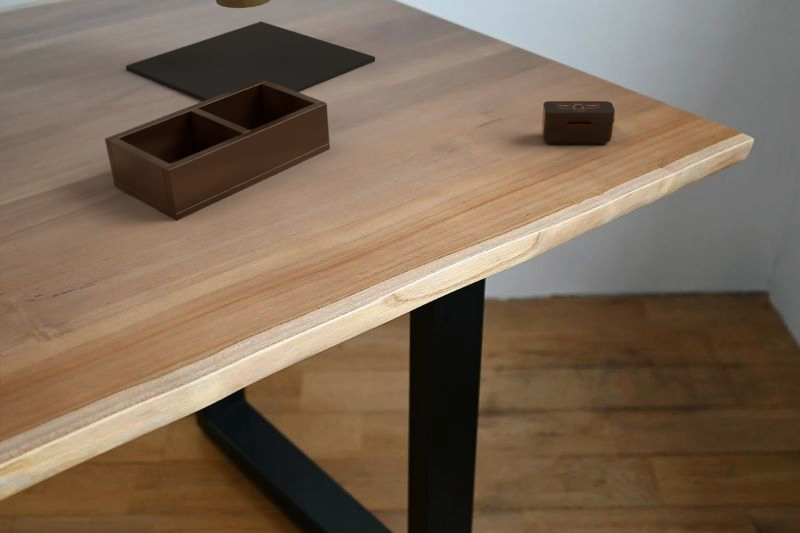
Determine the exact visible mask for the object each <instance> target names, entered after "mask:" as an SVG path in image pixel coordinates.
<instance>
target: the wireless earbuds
mask: <svg viewBox="0 0 800 533" xmlns="http://www.w3.org/2000/svg"><path fill="white" fill-rule="evenodd" d="M615 113H616V110H615V107H614V105H613V103H612V102H611V101H607V100H549V101H548V100H547V101H545V102H543V106H542V119H541V134H542V139H543V141H544V142H545V143H546V144H608V143H610V142H611V140H612V138H613V131H614V130H613V129H614V123H615V115H616V114H615Z"/></svg>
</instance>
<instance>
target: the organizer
mask: <svg viewBox="0 0 800 533" xmlns="http://www.w3.org/2000/svg"><path fill="white" fill-rule="evenodd" d="M328 116H329V115H328V103H327V102H325V101H322V100H320V99H318V98H315V97H312V96H309V95H306V94H304V93H301V92H296V91H293V90H290V89H287V88H285V87H282V86H279V85H277V84H274V83H271V82H268V81H265V80H262V79H261V80H258V81H256V82H253V83H250V84H248V85H245V86H242V87H240V88H237V89H234V90H232V91H229V92H227V93H224V94H221V95H219V96H216V97H213V98H211V99H208V100H205V101H201V102H198V103H195V104H192V105H190V106H187V107H184V108H182V109H179V110H176V111H174V112H171V113H169V114H166V115H163V116H160V117H158V118H155V119H153V120H150V121H148V122H145V123H142V124H139V125H137V126H134V127H132V128H129V129H127V130H124V131H122V132H121V131H120V132H119V133H116V134H113V135H111V136H108V137H106V138H104V144H105V146H106V151H107V156H108V160H109V166H110V170H111V175H112V179H113V185H114V187H115V188H117V189H119V190H121V191H123V192H124V193H126V194H127V195H130V196H132V197H133V198H136V199H137V200H139V201H141V202H142V203H145V204H146V205H148V206H150V207H152V208H154V209H156V211H157V210H158V211H160V213H163V214H164V215H167V216H169V217H170V218H172V219H174V220H176V221H178V220H181V219H183V218H186V217H187V216H189V215H191V214H193V213H195V212H198V211H200V210H202V209H205V208H206V207H209V206H211V205H213V204H215V203H217V202H220V201H221V200H223V199H226V198H227V197H230V196H232V195H234V194H236V193H238V192H240V191H242V190H245V189H247V188H249V187H251V186H254V185H255V184H257V183H260V182H262V181H264V180H266V179H268V178H271V177H273V176H274V175H276V174H278V173H281V172H283V171H285V170H287V169H290V168H292V167H294V166H296V165H298V164H300V163H303V162H304V161H307V160H309V159H311V158H313V157H314V156H317V155H320V154H321V153H324V152H325V151H328V150H330V149H331V143H330V130H329V117H328Z"/></svg>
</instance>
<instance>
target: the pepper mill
mask: <svg viewBox="0 0 800 533" xmlns="http://www.w3.org/2000/svg"><path fill="white" fill-rule="evenodd" d="M270 1H271V0H215V2H216V4H217V5H219V6H220V7H224V8H230V9H247V8H255V7H259V6H263V5H265V4H269V2H270Z"/></svg>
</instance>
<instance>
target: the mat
mask: <svg viewBox="0 0 800 533" xmlns="http://www.w3.org/2000/svg"><path fill="white" fill-rule="evenodd" d="M373 62H376V56H374V55H371V54H367V53H365V52H362V51H357V50H355V49H351V48H348V47H345V46H342V45H339V44H335V43H332V42H329V41H325V40H322V39H319V38H316V37H313V36H309V35H306V34H303V33H300V32H296V31H293V30H290V29H287V28H284V27H281V26H277V25H273V24H271V23H267V22H264V21H258V22H254V23H252V24H248V25H245V26H242V27H240V28H236V29H233V30H230V31H227V32H225V33H221V34H218V35H214V36H213V37H210V38H209V37H208V38H205V39H202V40H200V41H198V42H194V43H190V44H188V45H186V46H181V47H178V48H175V49H174V50H170V51H166V52H164V53H160V54H158V55H154V56H151V57H148V58H145V59H142V60H139V61H136V62H132V63H130V64H126V65H125V69H126V71H129V72H131V73H134V74H136V75H138V76H141V77H143V78H145V79H147V80H151V81H153V82H156V83H158V84H160V85H163V86H165V87H168V88H170V89H172V90H174V91H178V92H180V93H182V94H184V95H187V96H190V97H192V98H195V99H197V100H199V101H201V102H203V101H205V100H208V99H211V98H213V97H216V96H219V95H221V94H224V93H227V92H229V91H232V90H234V89H237V88H240V87H242V86H245V85H248V84H250V83H253V82H256V81H258V80H261V79H262V80H265V81H268V82H271V83H274V84H277V85H279V86H282V87H285V88H287V89H290V90H293V91H296V92H298V93H300V92H301V91H303V90H306V89H309V88H311V87H313V86H317V85H319V84H321V83H324V82H326V81H329V80H331V79H333V78H337V77H339V76H341V75H343V74H346V73H348V72H351V71H353V70H355V69H358V68H361V67H363V66H366V65H368V64H370V63H373Z"/></svg>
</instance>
